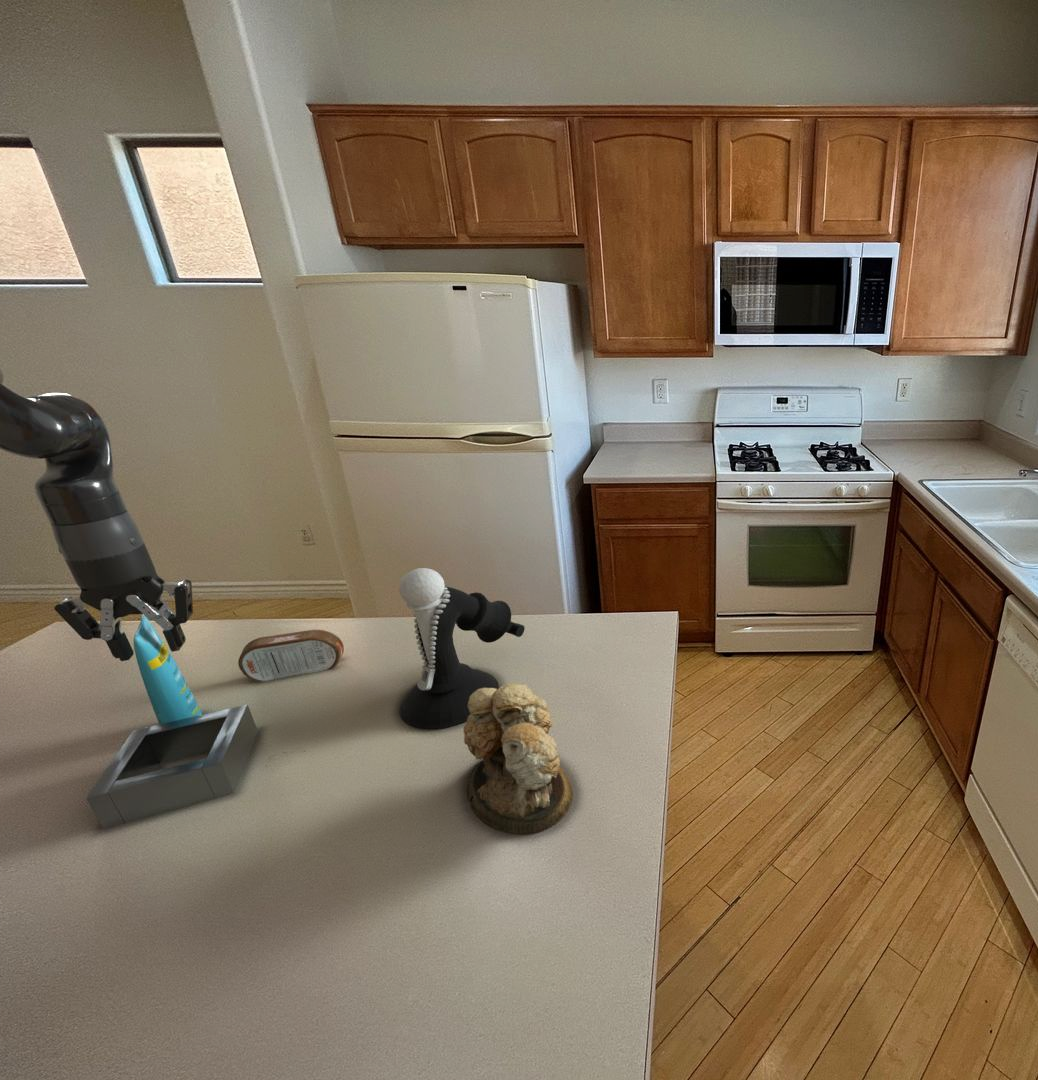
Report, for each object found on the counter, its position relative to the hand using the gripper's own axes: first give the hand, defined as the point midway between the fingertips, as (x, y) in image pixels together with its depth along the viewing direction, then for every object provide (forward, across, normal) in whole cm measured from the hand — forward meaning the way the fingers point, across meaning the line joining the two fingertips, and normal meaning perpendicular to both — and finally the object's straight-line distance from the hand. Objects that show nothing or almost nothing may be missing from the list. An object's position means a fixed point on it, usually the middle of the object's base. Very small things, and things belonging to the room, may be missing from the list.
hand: (152, 652), depth 81 cm
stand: (+14, -4, +13) cm, 20 cm away
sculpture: (+14, -41, +8) cm, 44 cm away
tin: (+14, -13, -9) cm, 21 cm away
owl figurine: (+14, -45, +35) cm, 59 cm away
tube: (+14, 0, 0) cm, 14 cm away
